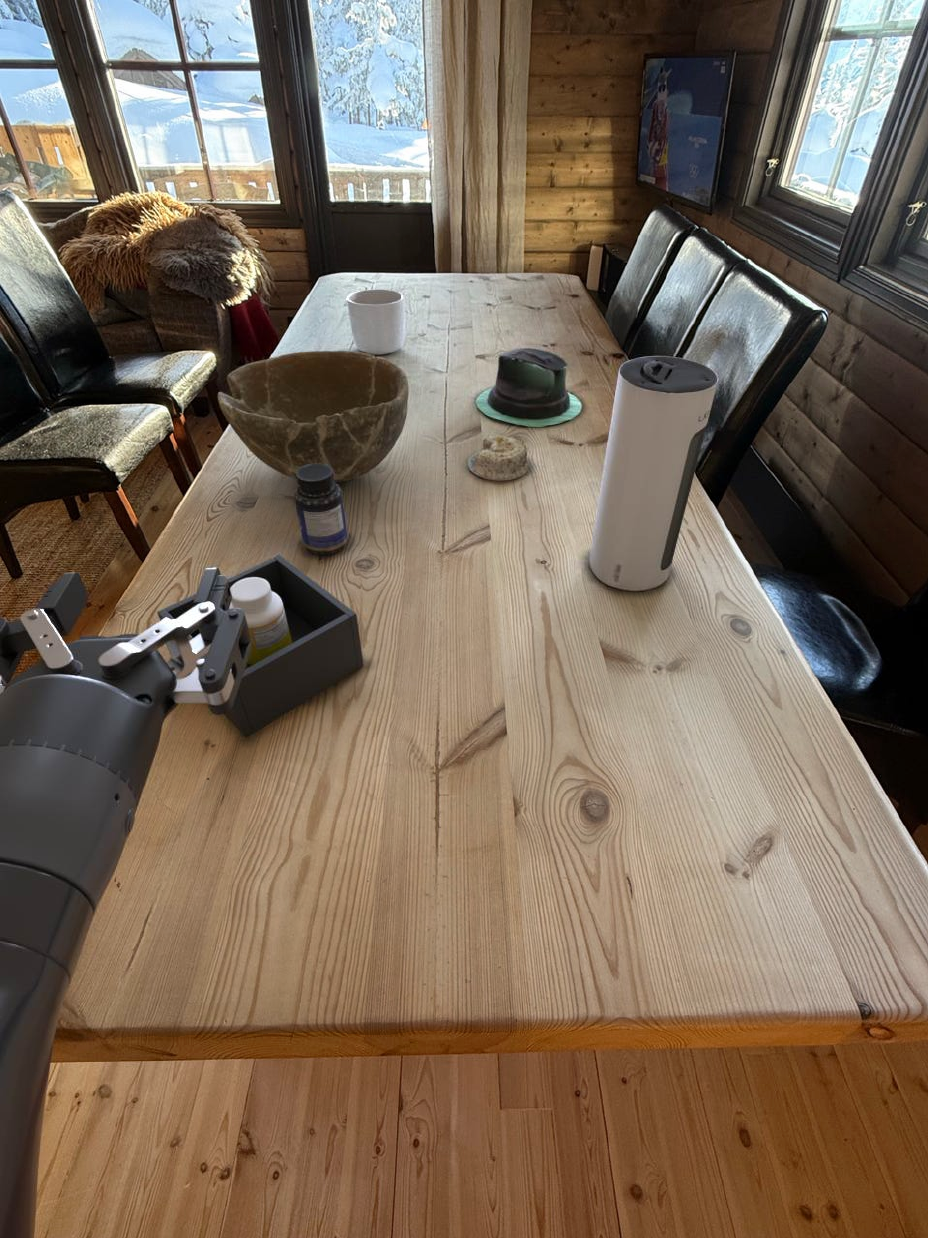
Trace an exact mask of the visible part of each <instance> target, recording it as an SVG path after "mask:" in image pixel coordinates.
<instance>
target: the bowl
mask: <svg viewBox="0 0 928 1238" xmlns="http://www.w3.org/2000/svg"><path fill="white" fill-rule="evenodd" d="M226 380H227V384H228V386H229V390H230V392H231V396H230V395H229V394H226V393H224V392H222V391H219V392H218V393H217V401H218V405H219V408H220V410H221V412H222V414H223V416H224V417H225V419H226V421H227V422H228V424H229V426H230V427H231V428H232V430H233V431H234V432H235V434H236V435H237V436H238V438H239V439H240V441H241V442H242V443H243V444H244V446H246V447H247V449H248V450H249V452H251V453H252V454H253V455H254V456H255V457H256V458H257V459H258V460H259V461H260V462H262V463H263V464H265V465H266V466H268V468H269V467H270V468H271V469H272V470H275V472H278V473H280V474H282V475H284V476H287V477H289V478H293V479H295V480H297V479H296V471H297V470H298V469H299V468H301V467H302V466H305V465H308V464H313V463H321V464H326V465H328V466H330V467H331V468H332V469H333V473H334V481H333V482H335V483H336V484H337V483H343V482H347V481H351V480H355V479H357V478H360V477H363V476H364V475H366V474H368V473H369V472H371V471H372V470H373V469H375V468H376V467H377V466H379V465H380V464H381V463H382V461H384V459H386V458H387V456H388V455H389V454H390V452H391V451H392V449H394V447H395V445H396V443H397V442H398V440H399V439H400V437H401V435H402V433H403V430H404V428H405V424H406V420H407V416H408V415H407V414H408V401H409V393H410V388H409V381H408V377H407V375H406V373H405V371H404V370H403V368H401V367H400V366H398V365H397V364H396V363H394V362H392V361H390V360H389V359H387V358H385V357H381V356H376V357H375V354H369V353H365V352H362V351H351V350H333V351H332V350H310V351H300V352H298V351H297V352H292V353H286V354H281V355H278V356H274V357H269V358H267V359H262V360H257V361H253V362H250V363H247V364H244V365H242V366H239V367H238V368H236V369H235V370H232V371H231V372H229V374H228V375H227V376H226Z"/></svg>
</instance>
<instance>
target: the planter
mask: <svg viewBox="0 0 928 1238" xmlns="http://www.w3.org/2000/svg"><path fill="white" fill-rule="evenodd" d="M405 301H406V299H405V295H404V293H402V292H399V291H398V290H397V291H396V290H393V289H385V288H384V289H383V288H375V289H372V288H371V289H363V290H359V291H355V292H352V293H350V294H348V296H347V297H346V303H347V304H346V305H347V310H348V318H349V326H350V330H351V337H352V341H353V342H354V345H355V347H356V348H357V349H358V350H359V351H360V352H362V353H365V354H370V355H387V354H392V353H395V352H397V351H398V350H400V349H401V348H402V347H403V345H404V343H405V337H406V302H405Z"/></svg>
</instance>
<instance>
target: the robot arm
mask: <svg viewBox="0 0 928 1238" xmlns="http://www.w3.org/2000/svg"><path fill="white" fill-rule="evenodd" d="M227 579H228V578H227V575H226V574H224V575H223V574H222V573H221V570H220V568H219V567H206V568H205V569H204V572H203V575H202V577H201V580H200V583H199V585H198V588H197V590H196V593H197V594H196V593H195V594H196V596H195V599H194V602H193V604H194V607H193V608H191V609H190V610H188V611H187V612H185V613H184V614H182V615H181V616H179V617H178V618H176V619H175V620H171V619H169V618H164V619H162V620H160V619H159V621H158V622H156V623H154V624H153V625H151V626H150V627H148V628H146V629H145V630H144V631H142V632H141V633H138V632H137V633H123V634H118V635H113V636H104V635H96V634H90V635H80V637H79V639H77V640H73V641H71V642H69V643H65V641H64V639H63V638H62V637H68V636H69V635H70V633H71V632H72V630H73V627H74V626H75V624H76V622H77V621H78V619H79V617H80V615H81V614H82V612H83V610H84V608H85V606H86V604H87V603H88V601H89V593H88V590H87V588H86V586H85V583H84V581H83V579H82V577H81V575H80V574H79V572H63V573H62V574H61V576H60V577H59V579H58V580H55V581H54V582H53V583H51V584H50V585H48V587H47V588H46V591H45V592H44V593H43V595H42V596H41V598H40V600H38V603H37V604H36V606H35V607H34V608H31V609H29V610H27V611H24V612H23V613H22V614H21V615H20V618H19V619H15V620H12V621H8V620H7V619H6V618H5V617H3V616H0V1238H35V1236H36V1235H35V1232H36V1218H37V1201H38V1199H37V1198H38V1185H39V1184H38V1181H39V1166H40V1153H41V1143H42V1142H41V1140H42V1131H43V1123H44V1115H45V1108H46V1107H45V1106H46V1100H47V1093H48V1084H49V1079H50V1072H51V1071H50V1070H51V1063H52V1056H53V1049H54V1044H55V1037H56V1031H57V1027H58V1022H59V1018H60V1014H61V1012H62V1009H63V1008H62V1007H63V1004H64V1002H65V999H66V996H67V993H68V990H69V988H70V984H71V982H72V979H73V977H74V974H75V972H76V968H77V966H78V962H79V959H80V956H81V953H82V950H83V948H84V945H85V942H86V940H87V937H88V935H89V931H90V928H91V926H92V923H93V919H94V916H95V914H96V911H97V908H98V906H99V904H100V902H101V899H102V897H103V895H104V893H105V892H106V890H107V889H108V886H109V885H110V882H111V881H112V878H113V876H114V874H115V872H116V870H117V867H118V865H119V862H120V859H121V856H122V854H123V851H124V848H125V845H126V842H127V839H128V838H129V836H130V834H131V832H132V831H133V828H134V825H135V819H136V812H137V810H138V806H139V804H140V801H141V798H142V795H143V792H144V789H145V786H146V784H147V780H148V777H149V775H150V771H151V769H152V767H153V763H154V760H155V757H156V754H157V751H158V748H159V744H160V740H161V735H162V730H163V725H164V722H165V720H166V719H167V718H168V716H169V715H170V714H171V713H172V712H173V711H174V710H175V709H176V708H177V707H178V706H179V704H207V706H208V709H209V711H210V713H211V714H213V715H216V716H221V715H224V714H225V713H227V712H228V711H230V710H231V708H232V706H233V703H234V700H235V697H236V694H237V691H238V688H239V685H240V682H241V679H242V676H243V673H244V670H245V667H246V664H247V661H248V658H249V655H250V652H251V649H252V645H253V642H252V639H251V635H250V631H249V628H248V624H247V620H246V617H245V613H244V611H243V610H242V609H240V608H232V609H229V607H230V603H231V601H232V594H231V591H230V587H229V584H228V580H227ZM198 628H199V631H200V634H199V635H197V636H196V637H194V638H193V639H192V640H190V641H189V636H190V634H191V633H193V632H194V631H195V630H197V629H198ZM164 645H166V647H167V651H168V653H169V660H168V662H167V661H166V660H165V658H164V656H163V655H162V654H161V652H160V651H159V649H160V648H161V647H163V646H164ZM36 649H37V651H38V653H39V655H40V657H41V658H42V659H40V660H39V661H37V662H36V663H34V664H32V665H31V666H30V667H28V668H27V669H25V670H23V671H21V672H20V673H18V674H17V675H15V672H16V670H17V668H18V666H19V665H20V663H21V661H22V659H23V657H24V655H25V652H28V651H32V650H36ZM206 653H207V656H206V658H205V659H200V658H201V657H202V656H204V655H205V654H206ZM191 672H192V673H191ZM190 673H191V674H190ZM189 674H190V675H189ZM14 675H15V676H14ZM13 676H14V677H13Z"/></svg>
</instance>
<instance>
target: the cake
mask: <svg viewBox="0 0 928 1238" xmlns="http://www.w3.org/2000/svg"><path fill="white" fill-rule="evenodd" d="M480 449H481V450H480V451H477V452H475V453H473V454H472V455H470V457H469V458H468V460H467V467H468V469H469V471H471V472H472V473H474V475H476V476H478V477H480V478H483V479H486V480H490V481H500V482H503V481H504V482H505V481H506V482H507V481H511V480H517V479H518V478H521V477H523V476H524V475H525V474H527V472H528V471H529V469H530V467H529V463H528V458H527V457H528V452H527V450H528V448H527V446H526V445H525V443H524V441H521V440H519V439H518V438H517V439H515V438H514V437H513V436H508V435H495V434H494V435H487V436H485V437H483V438H482V447H481V448H480Z"/></svg>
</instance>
